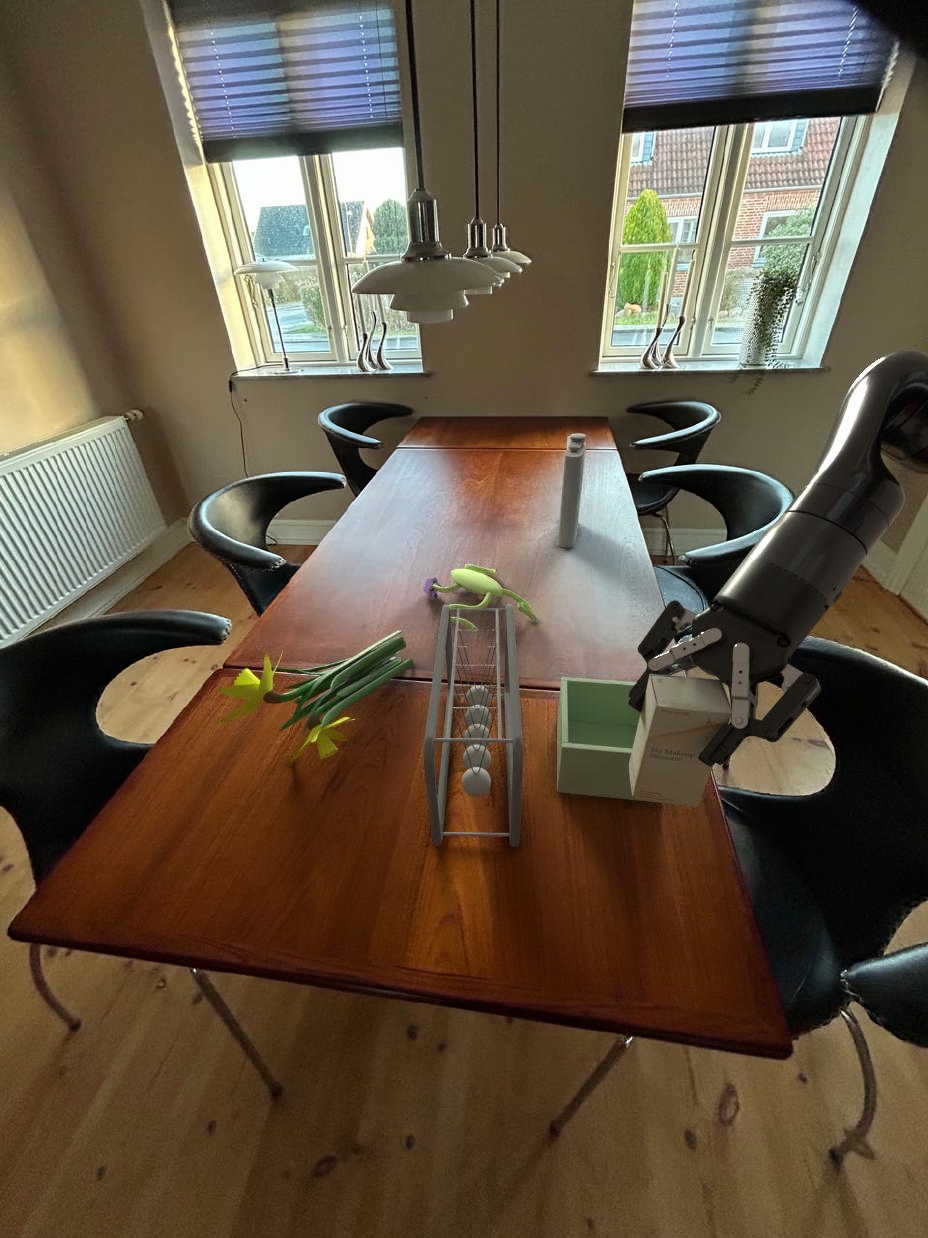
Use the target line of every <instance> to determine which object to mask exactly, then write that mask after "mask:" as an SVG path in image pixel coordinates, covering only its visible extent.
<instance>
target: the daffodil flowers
mask: <svg viewBox="0 0 928 1238" xmlns="http://www.w3.org/2000/svg"><path fill="white" fill-rule="evenodd" d="M403 632H404V630H402V629H398V630H396V631H394V632H392V633H391V634H389V635H387V636H385V637H383V638H382V639H380V640H378V641H376V642H375V643H373V644H372V645H370V646H368V647H367V648H365V649H363V650H362V651H360V652H359V653H357V654H356V655H354V656H352V657H349V658H346V659H343V660H339V661H336V662H333V663H329V664H325V665H320V666H316V667H311V668H305V669H301V668H300V669H298V668H295V667H292V666H291V667H289V668H288V667H287V668H286V667H280V666H279V663H280V662H281V659H282V657H283V652H284V650H282V651H281V653H280V657H279V659H278V662H277V664H276V665H275V666H272V664H271V659H270V657H269V654H268V652H265V655H264V658H263V669H262V673H261V677H260V679H259V678H258V677H257V676H255V674H254V673H253V672H252V671H251V670H250V669H249V668H244V669H243V670H241V673H238V676H235V678H236V679H234V680H233V681H234V682H233V685H229V686H224V687H220V688H218V691H219V692H220V693H222V694H224V695H225V696H227V697H229V698H233V699H240V700H241V699H243V700H246V701H245V702H244V703H242V704H241V705H240V706H238V707H237V708H236V709H235V710H233V711H232V712H231V713H229V714H228V715H226V716H225V717H224V718H223V719H221V720H220V721H218V723H217V724H216V726H218V725H222V724H225V723H228V722H231V721H233V720H235V719H237V718H238V717H240V716H241V715H243V714H244V713H245V714H244V716H243V720H244V719H245V718H247V717H248V716H250V715H251V714H253V713H255V712H256V711H257V710H258V709H259V707H260V706H261V704H262V702H265V703H266V704H272V705H273V704H275V705H276V704H283V703H287V702H290V701H293V700H294V701H293V704H295V705H296V704H297V705H296V707H295V709H294V711H293V715H292V716H291V717H290V718H289V719H288V720H287V721H285V722H284V724H283V725H282V726H281V727H280V729H279V730H278V731H279V733H280V732H282V731H284V730H286V729H288V728H290V727H291V726H293V725H294V724H295V723H297V722H299V721H300V720H302V719H304V718H305V717H307V718H306V721H305V724H304V728H303V731H302V736H304V734H305V733H306V731H307V729H308V730H309V733H308V734H307V735H306V736H305V738H304V740H303V741H302V743H301V744H300V745H299V746H298V747H297V748H295V750H294V752H293V754H292V758H291V760H290V762H289V764H288V766H287V767H286V769H287V768H289V766H290V765H291V764H292V763H293V762H294V761H295V760H297V759H298V758H300V756H301V755H302V754H303V753H304V751H306V750H307V748H308V747H309V746H311V744H312V743H315V744H316V747H317V750H318V755H319V759H320V760H321V761H322V760H323V761H324V760H325V759H326V760H327V759H328V758H330V757H331V755H332V756H334V755H335V754H337V752H339V748H338V747H337V746H336V745H335V744H334V742H333V741H332V740H339V741H343V742H349V738H347V737H346V736H345V735H344V734H342V733H341V732H339V731H337V730H336V729H332V728H335V727H337V726H340V725H342V724H344V723H347V722H350V721H351V719H350V717H348V716H344V717H342V718H340V719H338V720H336V721H335V722H333V720H334V719H335V718H337V716H339V715H340V714H341V713H343V712H344V711H346V710H347V709H348V708H350V707H351V706H353V705H354V704H356V703H358V702H359V701H361V700H362V699H364V698H365V697H367V696H368V695H370V694H371V693H373V692H375V691H377V689H379V688H381V687H382V686H384V685H385V684H386V683H388V682H390V681H392V680H393V679H394V678H396V677H397V676H399V675H400V674H402V673H403V672H405V671H406V670H408V669H410V668H411V667H413V666H414V665H415V663H414V660H413V658H411V657H409V658H408V659H406V660H405V661H404V660H403V658H402V657H401V656H399V657H397V655H399V654H400V653H401V651H402V650H404V649H406V648H407V642H406V640H405V639H404V636H403V635H401V636H399V637H398V635H400V634H402V633H403ZM272 669H273V670H272ZM327 669H328V670H327ZM277 670H278V671H279V672H284V673H287V674H292V675H306V676H307V675H308V676H314V677H311V678H309V679H306V680H303V681H299V682H297V683H294V684H291V685H288V686H286V687H284V690H291V691H288V692H284V693H281V692H278V691H277V690H274V688H275V687H276V686H277V684H276V683H274V681H273V680H274V676H275V674H276V673H275V672H276V671H277ZM323 670H324V671H323ZM314 698H315V699H314ZM312 699H313V700H312ZM310 700H311V701H310ZM309 701H310V702H309ZM306 702H308V703H307V704H305V703H306ZM322 715H323V716H322ZM321 716H322V719H321V720H320V717H321ZM365 718H366V716H364V717H360V718H358V720H361V719H365ZM354 720H355V718H353V719H352V721H354ZM332 722H333V723H332Z"/></svg>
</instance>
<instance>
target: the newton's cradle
mask: <svg viewBox="0 0 928 1238" xmlns="http://www.w3.org/2000/svg"><path fill="white" fill-rule="evenodd" d="M449 605H450V604H444V605H442V607H441V612H440V621H439V628H438V635H437V643H436V650H435V656H434V657H435V658H434V664H433V665H434V666H433V673H432V679H431V686H430V687H431V689H430V695H429V701H428V702H429V704H428V709H427V710H428V711H427V718H426V725H425V732H424V741H423V770H424V776H425V788H426V797H427V807H428V816H429V825H430V833H431V835H430V836H431V841H432V844H433V845H434V846H436V847H439V846H440V845H441V844H442V842H443V837H445V836H447V837H500V838H502V837H503V838H505V837H506V838H507V837H508V838H509V845H510V846H511V847H513V848H518V846H519V845H520V841H521V819H522V798H523V781H524V780H523V779H524V736H523V721H522V709H521V707H522V706H521V695H520V693H521V692H520V680H519V667H518V653H517V652H518V651H517V638H516V637H517V636H516V625H515V624H516V623H515V611H514V606H513V604H511V603H508V604H506V605H505V608H484V609H450V606H449ZM468 611H476V612H495V629H493V632H492V637H491V642H490V645H489V650H488V653H487V658H486V662H485V664H471V663H470V662H469V657H468V654H467V651H466V646H465V643H464V640H463V636H462V633H461V629H459V626H460V624H459V618H460V612H468ZM451 612H455V613H456V617H457V618H456V624H455V631H454V640H453V633H452V632H453V631H452V623H451V617H452V613H451ZM499 612H504V616H505V617H504V620H505V621H504V661H503V662H504V667H503V669H504V671H503V691H504V692H503V693H502V691H501V689H502V688H501V658H500V657H501V655H500V622H499V621H500V620H499V615H500V614H499ZM459 636H460V640H461V644H462V648H463V651H464V654H465V658H466V661H467V664H464V662H463V658H462V655H461V651H460V646H458V637H459ZM494 637H495V645H496V646H492V645H493V642H494ZM453 641H454V642H453ZM492 647H493V651H492V655H491V659H490V664H488V662H489V657H490V654H491V649H492ZM457 651H458V655H459V658H460V662H461V664H456V663H457ZM495 651H496V664H493V659H494V655H495ZM444 663H446V677H447V678H446V681H447V683H446V684H447V689H446V692H447V693H446V702H445V703H446V704H445V712H444V713H445V714H444V725H443V733H442V734H443V735H442V737H440V738H439V737H436V736H437V735H436V734H437V726H438V717H439V709H440V699H441V692H442V691H441V690H442V681H443V674H444V673H443V672H444ZM459 666H460V667H462V668H463V672H464V675H465V679H466V682H467V684H463V681H462V677H461V674H460V670H459ZM465 666H468V668H469V672H470V676H471V679H472V682H473V684H470V683H469V678H468V676H467V672H466V668H465ZM473 666H474V667H475V666H477V667H478V666H479V667H484V670H483V673H482V679H481V683H480V684H476V682H475V679H474V676H473V672H472V668H471V667H473ZM487 667H489V668H488V671H487V676H486V679H485V684H483V682H484V678H485V675H486V670H487ZM491 667H493V670H492V674H491V678H490V683H489V684H488V680H489V676H490V672H491ZM456 670H457V674H458V677H459V681H460V684H455V674H456ZM495 670H496V684H492V683H493V679H494V674H495ZM457 687H461V688H462V691H463V693H458V689H457ZM464 687H468V688H469V689H468V690H467V693H466V691H465V688H464ZM487 687H488V688H487ZM491 687H494V688H493V691H492V693H490V691H491ZM496 690H497V691H496ZM455 692H456V693H455ZM495 692H496V693H495ZM455 697H457V699H458V703H459V706H460V707H459V706H456V707H455V706H454V703H455V702H454V701H455V700H454V699H455ZM460 697H463V698H465V700H466V701H465V702H466V705H467V706H466V707H465V706H462V702H461V699H460ZM494 697H496V698H497V699H496V700H497V707H494V712H493V715H492V717H491V713H490V711H491V709H492V703H493V700H494ZM502 697H503V698H504V723H505V727H504V728H505V738H503V725H502V724H503V723H502V722H503V721H502ZM488 706H489V707H488ZM455 709H460V710H461V713H462V716H463V720H464V722H465V727H466V730H465V731H464V735H463V733H462V729H461V725H460V722H459V719H458V717H457V713H456V710H455ZM464 709H467V711H466V712H464ZM496 713H497V738H492V737H491V732H492V727H493V723H494V720H495V716H496ZM453 715H454V718H455V720H456V721H455V722H456V724H457V727H458V730H459V733H460V736H461V738H459V737H458V738H457V737H456V738H452V728H453V727H452V725H453ZM491 718H492V719H491ZM489 725H490V727H489ZM488 727H489V729H488ZM436 743H442V744H441V755H440V767H439V768H440V769H439V777H438V787H437V775H436V765H435V763H436V762H435V745H436ZM451 743H463V746H464V749H465V751H464V753H463V754H462V755H463V756H462V762H463V765H464V767H465V769H466V771H465V772H464V773H463V776H462V778H461V786H462V788H463V791H464V792H465V794H466V795H468V797H471V798H475V799H476V798H482V797H484V796H485V795H486V794H488V792H489V791H490V789H491V786H492V779H491V776H490V774H489V773H488V771H487V770H488V768H489V767H490V766H491V761H492V757H491V753H490V751H489V749H487V748H488V747H489V745H490V744H491V743H492V744H493V743H495V744H496V743H497V744H498V743H501V744H502V743H503V744H504V743H505V750H506V751H505V752H506V777H507V779H506V781H507V782H506V783H507V806H508V807H507V809H508V832H460V831H459V832H458V831H457V832H454V831H453V832H452V831H444V829H445V827H444V826H445V814H446V802H447V790H448V789H447V788H448V777H449V763H450V751H451Z"/></svg>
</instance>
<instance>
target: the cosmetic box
mask: <svg viewBox="0 0 928 1238" xmlns="http://www.w3.org/2000/svg"><path fill="white" fill-rule="evenodd" d="M731 718H732V705H731V703H730V700H729V697H728V695H727V691H726V688H725V684H724V683H723V682H722V681H720V680H719V679H718V678H706V677H705V678H704V677H693V676H686V675H685V676H684V675H657V674H650V676H649V680H648V685H647V689H646V693H645V697H644V702H643V706H642V710H641V715H640V719H639V723H638V727H637V732H636V736H635V740H634V745H633V749H632V753H631V757H630V762H629V774H630V783H631V791H632V797H633V798H634V799H641V800H648V801H655V802H654V803H658V802H662V803H663V804H671V805H678V806H686V807H696V808H697V807H699V806H700V803H701V801H702V797H703V796H704V792H705V790H706V787H707V784H708V781H709V778H710V776H711V773H712V771H713V767H714V765H713V766H712V767H709V766H707V765H705V764H704V763H703V762H702V761H700V760H699V759H698V757H699V755H700V753H701V752H702V751H703V749H704V748H705V747H706V746H707V744H708V743H709V742H710V741H711V739H712V738H713V737H714V735H715V734H716V733H717V732H718V730H719V729H720V728H721V727H722V725H723V724H724V723H727V724H729V723H730V722H731ZM648 801H647V802H648ZM662 803H661V804H662Z"/></svg>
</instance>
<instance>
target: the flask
mask: <svg viewBox="0 0 928 1238" xmlns="http://www.w3.org/2000/svg"><path fill="white" fill-rule="evenodd" d="M586 438H587V435H586V434H585V433H571V434H570V435H568V436H567V439H566V440H567V441H566V451H565V453H564V458H563V470H562V482H561V495H560V506H559V508H560V509H559V519H558V531H557V544H556V545H557V546H558V547H560V548H571V547H573V546H574V544H575V542H576V540H577V535H578V527H579V520H580V519H579V518H580V508H581V498H582V488H583V480H584V470H585V468H584V467H585V460H586V450H587V442H586Z"/></svg>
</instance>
